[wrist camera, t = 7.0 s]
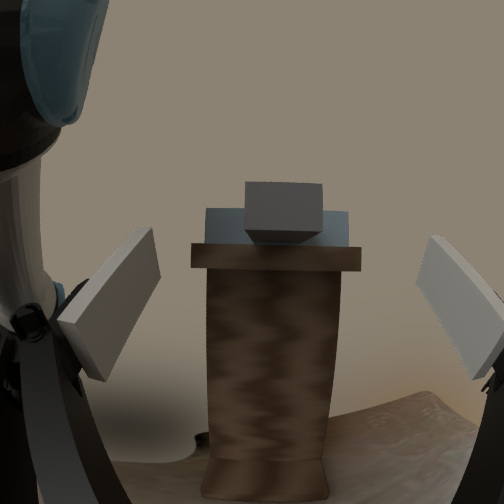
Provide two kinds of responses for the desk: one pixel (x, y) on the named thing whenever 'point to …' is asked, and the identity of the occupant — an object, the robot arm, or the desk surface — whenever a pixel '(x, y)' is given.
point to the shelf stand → (270, 366)
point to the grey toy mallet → (278, 218)
